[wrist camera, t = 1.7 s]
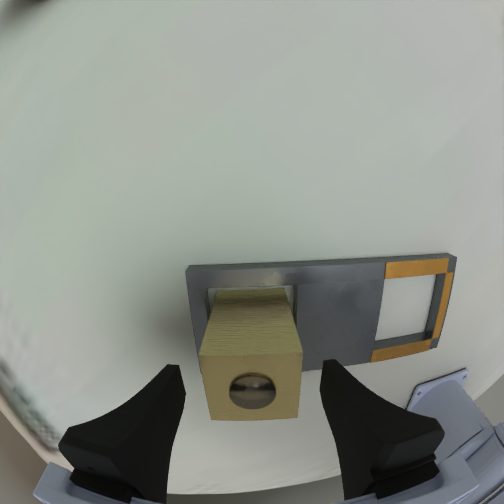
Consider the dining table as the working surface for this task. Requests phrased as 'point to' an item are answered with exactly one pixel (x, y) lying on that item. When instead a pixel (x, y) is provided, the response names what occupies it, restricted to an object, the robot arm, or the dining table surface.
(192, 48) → the dining table surface
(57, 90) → the dining table surface
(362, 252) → the dining table surface
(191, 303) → the grey frame plate
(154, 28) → the dining table surface
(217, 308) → the block
